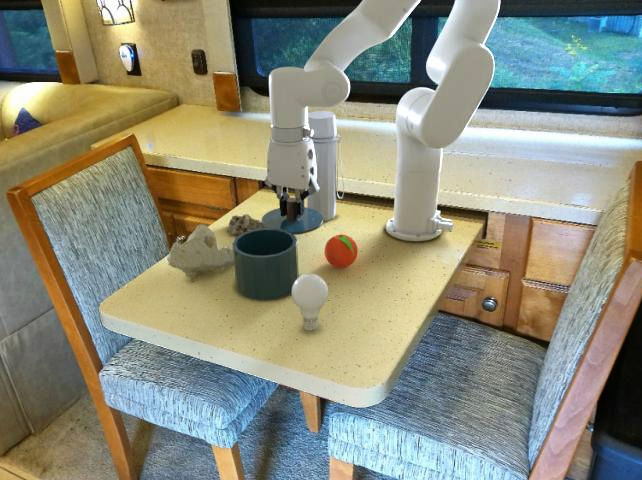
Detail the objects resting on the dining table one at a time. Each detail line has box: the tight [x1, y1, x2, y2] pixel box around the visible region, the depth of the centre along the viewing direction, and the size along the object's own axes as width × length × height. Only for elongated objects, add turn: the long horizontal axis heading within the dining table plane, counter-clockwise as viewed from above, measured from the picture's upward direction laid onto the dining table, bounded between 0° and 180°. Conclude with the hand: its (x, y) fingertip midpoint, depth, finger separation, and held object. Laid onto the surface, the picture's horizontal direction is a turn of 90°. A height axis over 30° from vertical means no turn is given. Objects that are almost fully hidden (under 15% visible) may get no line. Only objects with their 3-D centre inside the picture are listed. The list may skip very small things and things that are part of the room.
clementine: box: [324, 234, 359, 269], centre depth 124 cm, size 8×7×7 cm
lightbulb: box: [291, 273, 329, 332], centre depth 104 cm, size 6×6×11 cm
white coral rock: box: [167, 223, 234, 281], centre depth 126 cm, size 15×7×15 cm
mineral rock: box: [228, 213, 264, 236], centre depth 143 cm, size 11×4×8 cm
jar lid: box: [261, 196, 324, 236], centre depth 131 cm, size 14×14×6 cm
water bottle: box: [306, 110, 345, 222], centre depth 141 cm, size 9×8×25 cm
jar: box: [231, 228, 300, 301], centre depth 119 cm, size 13×13×10 cm
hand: (292, 215), depth 131 cm, fingers closed on jar lid, 2 cm apart
